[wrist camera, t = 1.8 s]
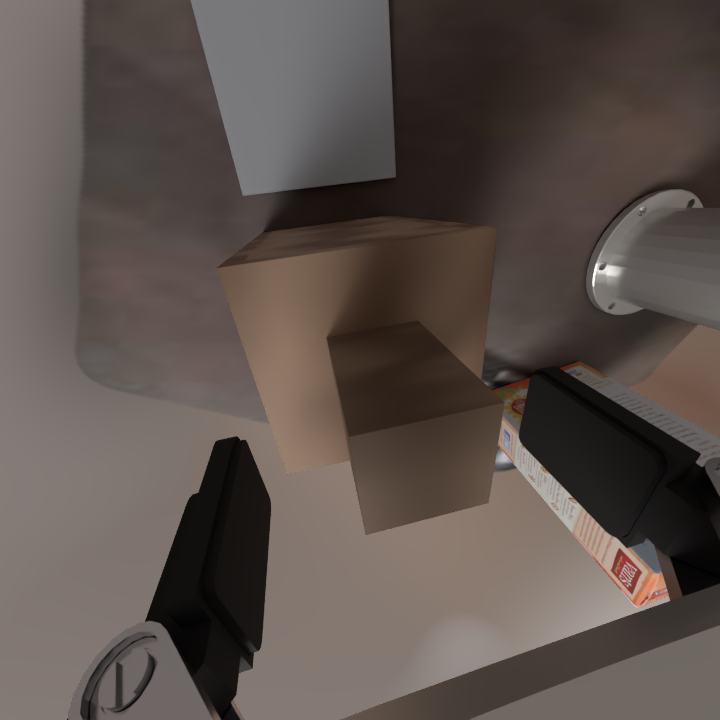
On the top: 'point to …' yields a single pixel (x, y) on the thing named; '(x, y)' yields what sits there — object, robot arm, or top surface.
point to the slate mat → (302, 89)
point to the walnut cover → (375, 357)
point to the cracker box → (623, 565)
